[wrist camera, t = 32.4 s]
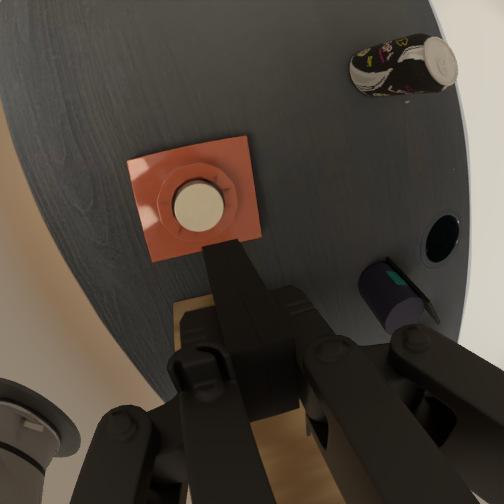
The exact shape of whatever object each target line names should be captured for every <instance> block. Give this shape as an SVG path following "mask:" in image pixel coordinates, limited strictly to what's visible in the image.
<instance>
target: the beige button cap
mask: <svg viewBox="0 0 504 504" xmlns="http://www.w3.org/2000/svg"><path fill="white" fill-rule="evenodd" d="M174 210H175V215H176V218H177V220H178V221H179V223H180V224H181V225H182V226H183V227H185V228H186V229H188V230H191V231H195V232H202V231H206V230H209V229H211V228H213V227H214V226H215V225H216V224H217V223H218V222H219V221H220V219H221V217H222V215H223V210H224V203H223V199H222V197H221V195H220V193H219V192H218V191H217V190H216V188H215V187H214V186H213V185H211V184H210V183H208V182H206V181H201V180H195V181H191V182H188V183H186V184H185V185H184V186H182V187H181V188H180V190H179V191H178V193H177V195H176V197H175V206H174Z"/></svg>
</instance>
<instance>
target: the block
mask: <svg viewBox="0 0 504 504" xmlns="http://www.w3.org/2000/svg"><path fill="white" fill-rule="evenodd" d="M212 305H215V303H214V299H213V295H212V294H209V295H204V296H200V297H196V298H192V299H187V300H183V301H179V302H174V303H173V315H174V342H175V352H176V351H177V350H179V349H180V348H181V342H180V327H179V322H180V320H181V318H182V316H183V315H184V313H185V312H186V311H191V310H195V309H200V308H204V307H208V306H212ZM299 402H300V408H298V409H295V410H292V411H289V412H286V413H283V414H279V415H276V416H272V417H269V418H265V419H262V420H258V421H254V422H251V423H250V425H251V428H252V431H253V435H254V438H255V441H256V444H257V447H258V450H259V453H260V456H261V459H262V462H263V465H264V468H265V471H266V474H267V477H268V480H269V483H270V485H271V488H272V491H273V494H274V497H275V500H276V502H277V504H346V502H345V501H344V499H343V497H342V495H341V493H340V491H339V489H338V487H337V485H336V482H335V480H334V478H333V476H332V474H331V472H330V470H329V468H328V466H327V464H326V462H325V460H324V458H323V456H322V454H321V452H320V450H319V448H318V446H317V444H316V442H315V440H314V437H313V435H312V433H311V436H308V437H307V434H306V419H305V409H304V407H303V405H302V403H301V401H300V399H299ZM189 490H190V487H189ZM190 496H191V494H190ZM191 502H192V500H191Z"/></svg>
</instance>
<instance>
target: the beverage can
mask: <svg viewBox="0 0 504 504" xmlns="http://www.w3.org/2000/svg"><path fill="white" fill-rule="evenodd" d="M350 74H351V78H352V80H353V82H354V84H355V85H356V87H357V88H358V89H359V90H360V91H361V92H363V93H364V94H366V95H368V96H372V97H380V96H390V95H402V94H417V93H437V92H441V91H443V90H444V89H446V88H447V86H449V85H452V84H454V82H455V81H456V79H457V75H458V66H457V61H456V58H455V56H454V53H453V52H452V50H451V48H450V47H449V46H448V44H447V43H446V42H445V41H443V40H442V39H440V38H438V37H431V36H429V35H426V34H414V35H410V36H407V37H403V38H399V39H396V40H393V41H389V42H386V43H383V44H380V45H377V46H374V47H371V48H368V49H365V50H362V51H359V52H357V53H356V54H355V55H354V56H353V57H352V59H351V62H350Z"/></svg>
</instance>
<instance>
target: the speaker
mask: <svg viewBox="0 0 504 504" xmlns="http://www.w3.org/2000/svg"><path fill="white" fill-rule="evenodd" d="M386 260H387V261H388V263H389V264H384V263H378V264H376V265H374V266H372V267H370V268H368V269H367V270H366V271H365V272H364V273H363V275H362V277H361V279H360V282H359V284H358V287H359V291H360V294H361V296H362V297H363V299H364V300H365V302H366V303H367V305H368V306H369V307H370V309H371V310H372V312H373V313H374V315H375V316H376V318H377V319H378V321H379V322H380V324H381V325H382V327H383V328H384V330H385V331H386V332H387V333H388V334H390V335H391V334H393V333H394V332H395V330H396V329H398V328H400V327H402V326H404V325H410V324H416V323H417V322H418V320H419V318H420V317H421V315H422V313H423V311H424V308H425V310H426V311H427V312H428V313H429V314H430V315H431V317H432V318H433V319H434V320H435V321H436V323H437V324H438V325H439V324H440V323H441V322H440V320H439V318H438V316H437V314H436V312H435V310H434V308H433V306H432V304H431V302H430V300H429V299H428V298H427V297H426V296H425V295H424V294H423V293H422V292H421V291H420V289H419V288H418V287H417V286H416V285H415V284H414V283H413V282H412V281H411V280H410V279H409V278H408V277H407V276H406V275H405V274H404V273H403V271H402V270H401V269H400V268H399V267H398V266H397V265H396V264H395V263H394V262H393V261H392V260H391V259H390V258H389V257H387V258H386Z"/></svg>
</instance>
